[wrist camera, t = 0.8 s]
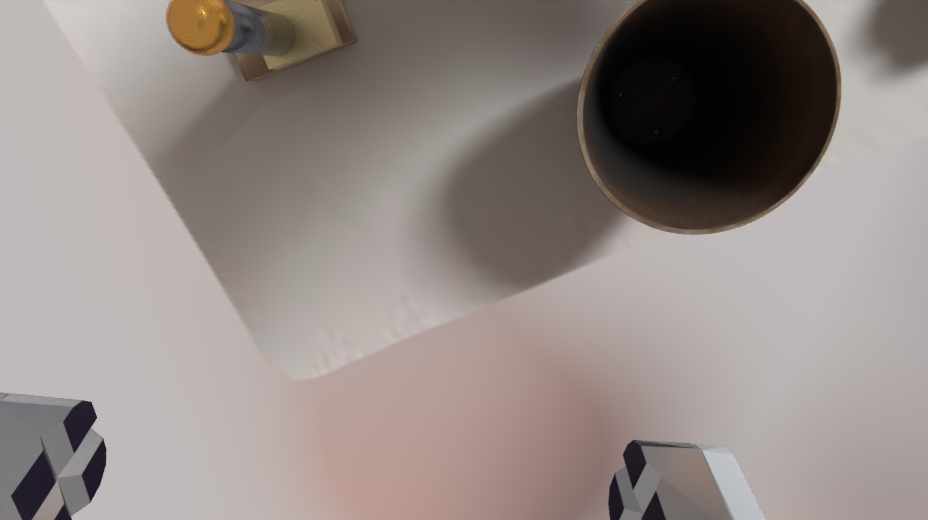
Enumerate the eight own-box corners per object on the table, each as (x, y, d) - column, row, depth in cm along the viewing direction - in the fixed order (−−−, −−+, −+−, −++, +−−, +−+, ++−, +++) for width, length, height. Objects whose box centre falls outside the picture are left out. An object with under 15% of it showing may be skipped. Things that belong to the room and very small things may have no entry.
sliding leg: (346, 44, 48) (269, 30, 33) (276, 71, 50) (173, 69, 35) (325, -11, 47) (237, -51, 32) (255, 17, 48) (138, -9, 33)
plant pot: (523, 90, 50) (525, 97, 35) (670, -38, 46) (744, -94, 31) (629, 222, 53) (674, 281, 38) (776, 110, 49) (894, 125, 34)
